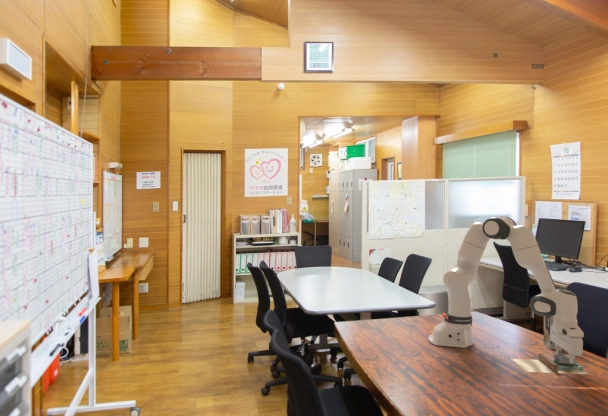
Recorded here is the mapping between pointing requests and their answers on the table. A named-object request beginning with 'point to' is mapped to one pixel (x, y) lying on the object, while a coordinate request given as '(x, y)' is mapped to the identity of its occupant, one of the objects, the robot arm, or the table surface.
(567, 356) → the block
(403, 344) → the table surface
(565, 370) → the lock board
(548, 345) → the coffee box
